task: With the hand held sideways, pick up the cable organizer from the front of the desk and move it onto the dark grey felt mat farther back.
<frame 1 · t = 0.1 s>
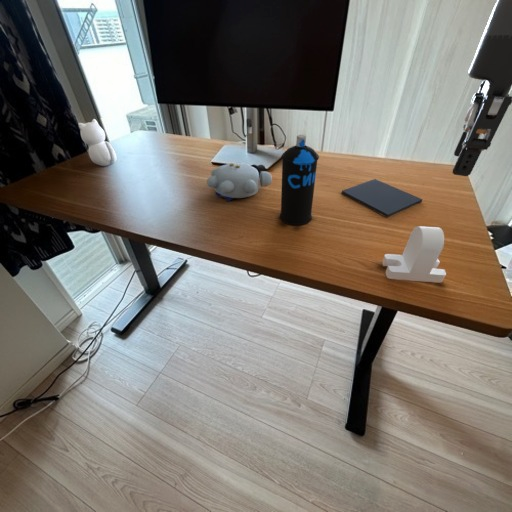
hand: (460, 164, 42), 20 cm above the table, tool pointing down, fingers open, 8 cm apart
felt mat: (380, 197, 76), on the table
cat figurine: (107, 164, 103), on the table
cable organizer: (410, 271, 53), on the table
figurine: (241, 190, 83), on the table
aerosol can: (295, 217, 70), on the table
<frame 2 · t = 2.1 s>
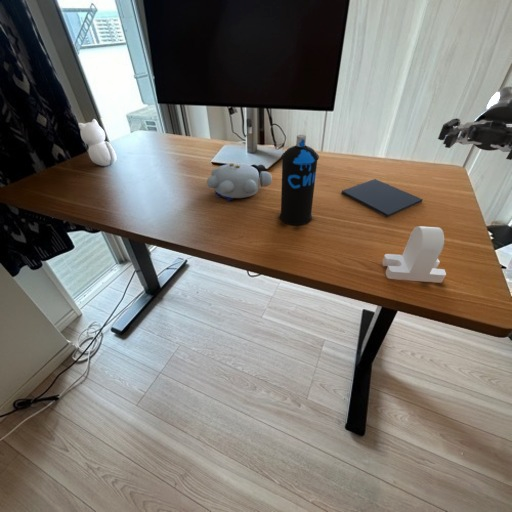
hand: (479, 147, 43), 22 cm above the table, tool horizontal, fingers open, 8 cm apart
nothing on the table moved.
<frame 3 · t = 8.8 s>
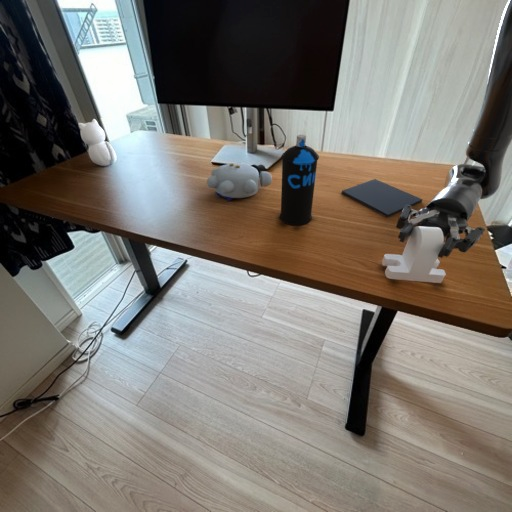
hand: (421, 245, 46), 8 cm above the table, tool horizontal, fingers closed on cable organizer, 5 cm apart
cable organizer: (410, 272, 53), on the table, touching gripper
everything else where it was.
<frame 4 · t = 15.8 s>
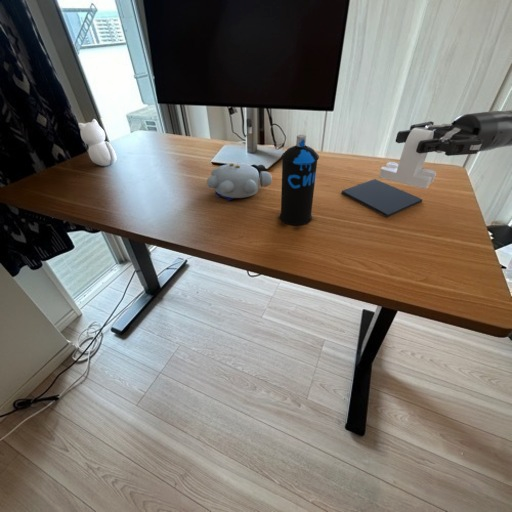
hand: (407, 142, 53), 20 cm above the table, tool horizontal, fingers closed on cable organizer, 5 cm apart
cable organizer: (405, 179, 59), point 11 cm above the table, touching gripper
everything else where it was.
when the fingers open (9 cm above the table, at t = 22.9 s): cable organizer stays where it is, resting on felt mat.
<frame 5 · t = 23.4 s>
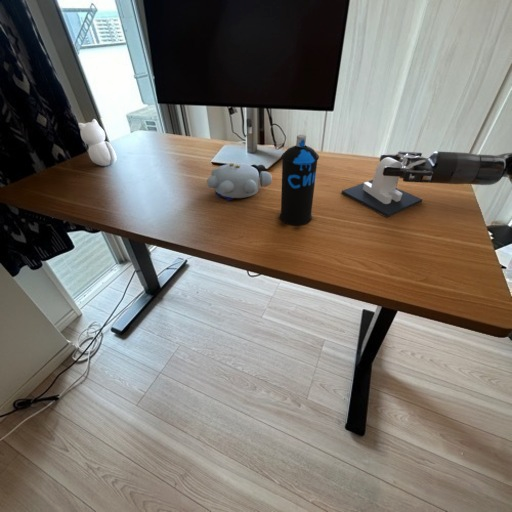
hand: (381, 164, 70), 9 cm above the table, tool horizontal, fingers open, 8 cm apart
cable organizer: (380, 195, 76), point 1 cm above the table, touching felt mat
everything else where it was.
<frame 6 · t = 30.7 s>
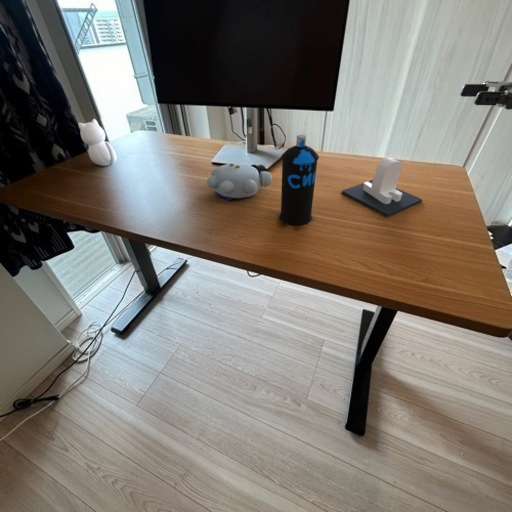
hand: (468, 94, 54), 26 cm above the table, tool horizontal, fingers open, 8 cm apart
nothing on the table moved.
at the end: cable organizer inside the target area on the felt mat (0.1 cm from its centre), point 0.6 cm above the felt mat's base; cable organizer tilted 0°; the gripper is holding nothing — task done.
